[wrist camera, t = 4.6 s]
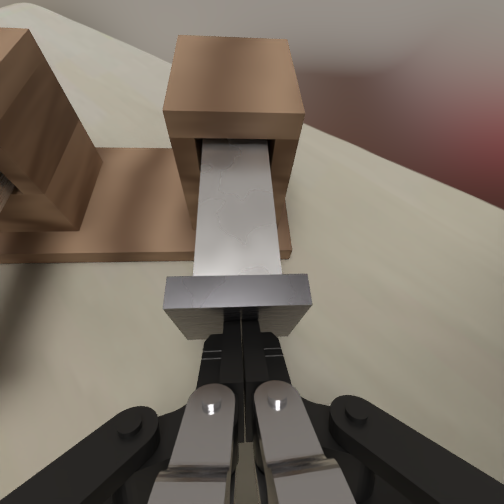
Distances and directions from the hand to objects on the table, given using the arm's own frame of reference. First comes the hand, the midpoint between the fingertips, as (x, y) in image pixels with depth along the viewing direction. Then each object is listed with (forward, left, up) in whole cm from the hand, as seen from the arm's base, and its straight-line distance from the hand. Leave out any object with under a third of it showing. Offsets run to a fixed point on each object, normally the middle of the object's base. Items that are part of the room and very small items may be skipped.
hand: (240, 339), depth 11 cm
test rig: (+8, -14, -8) cm, 18 cm away
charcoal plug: (0, -8, -2) cm, 9 cm away
